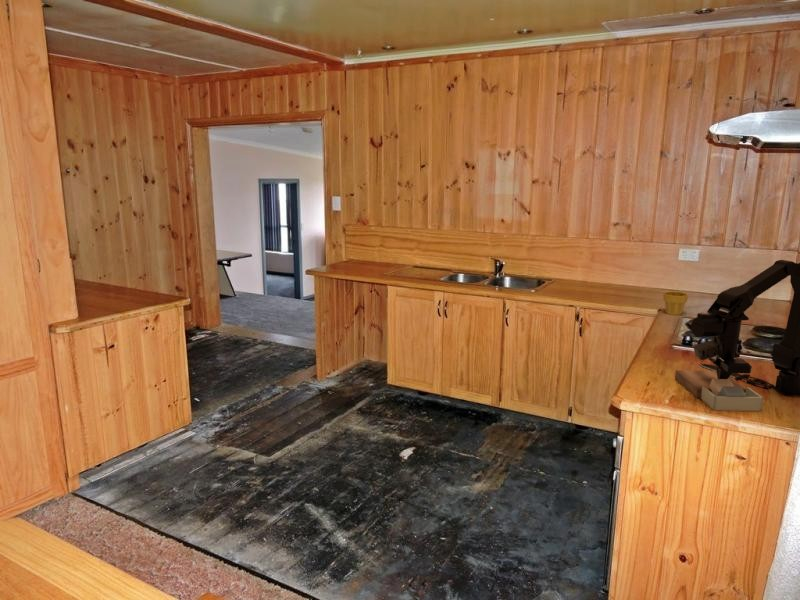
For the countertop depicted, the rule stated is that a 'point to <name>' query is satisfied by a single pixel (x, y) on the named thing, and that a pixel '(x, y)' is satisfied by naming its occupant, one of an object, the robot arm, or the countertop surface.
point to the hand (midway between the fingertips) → (720, 384)
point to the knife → (740, 377)
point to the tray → (733, 401)
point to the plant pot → (675, 302)
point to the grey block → (732, 391)
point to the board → (698, 380)
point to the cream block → (719, 385)
